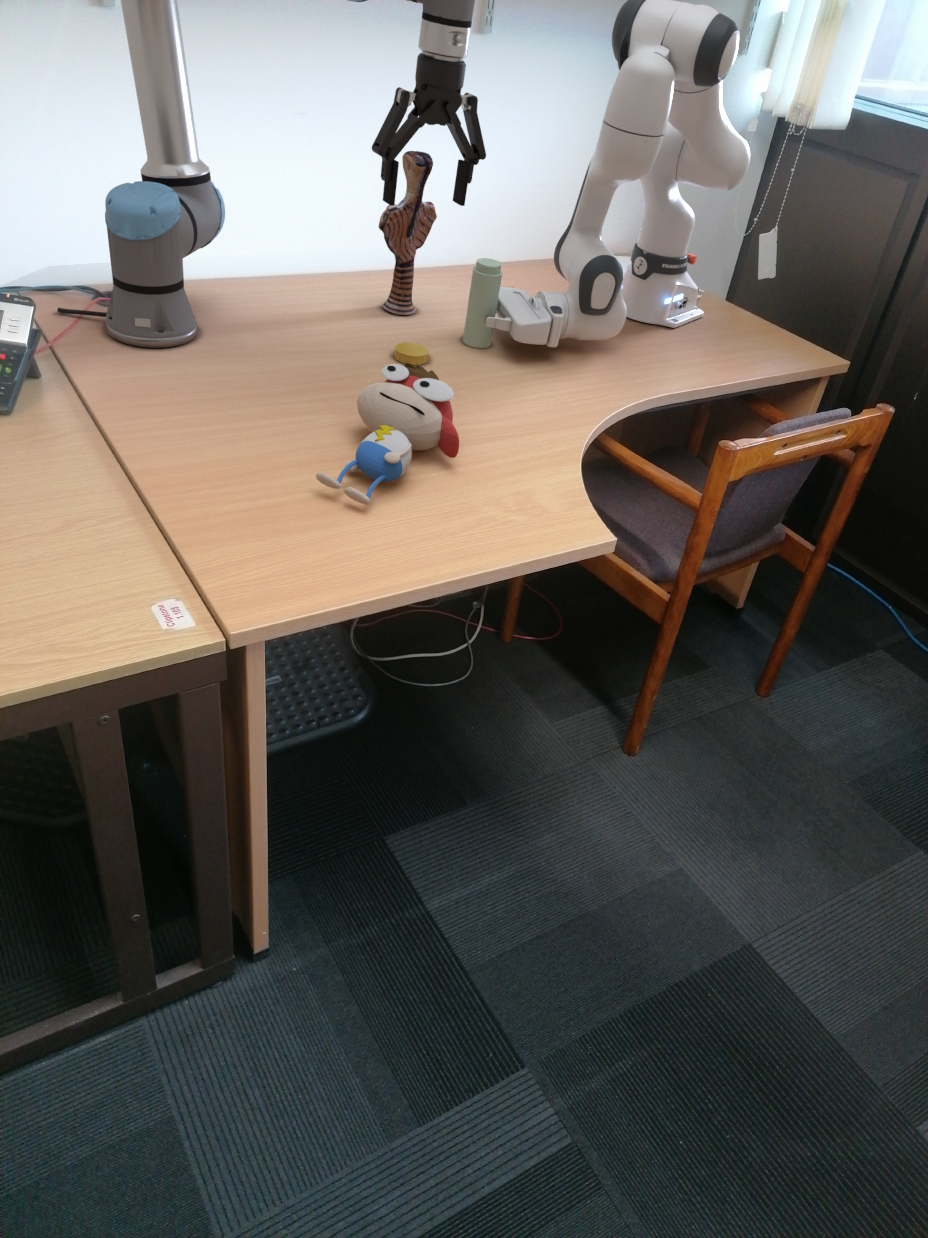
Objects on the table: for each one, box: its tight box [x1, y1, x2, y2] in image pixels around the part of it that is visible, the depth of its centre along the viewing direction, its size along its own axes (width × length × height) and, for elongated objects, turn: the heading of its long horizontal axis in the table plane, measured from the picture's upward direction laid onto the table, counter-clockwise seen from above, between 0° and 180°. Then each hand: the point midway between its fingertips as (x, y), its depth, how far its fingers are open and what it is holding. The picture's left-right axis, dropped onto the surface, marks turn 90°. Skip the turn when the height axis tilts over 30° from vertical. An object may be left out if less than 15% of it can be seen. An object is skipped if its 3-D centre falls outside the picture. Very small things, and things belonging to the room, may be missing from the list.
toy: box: [315, 363, 460, 505], centre depth 132 cm, size 18×10×30 cm
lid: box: [393, 341, 430, 366], centre depth 165 cm, size 6×6×2 cm
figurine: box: [378, 150, 438, 316], centre depth 174 cm, size 15×8×30 cm, turn 144°
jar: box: [462, 257, 503, 349], centre depth 171 cm, size 6×6×16 cm
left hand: (424, 203), depth 149 cm, fingers open, 13 cm apart
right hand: (479, 311), depth 172 cm, fingers open, 8 cm apart
